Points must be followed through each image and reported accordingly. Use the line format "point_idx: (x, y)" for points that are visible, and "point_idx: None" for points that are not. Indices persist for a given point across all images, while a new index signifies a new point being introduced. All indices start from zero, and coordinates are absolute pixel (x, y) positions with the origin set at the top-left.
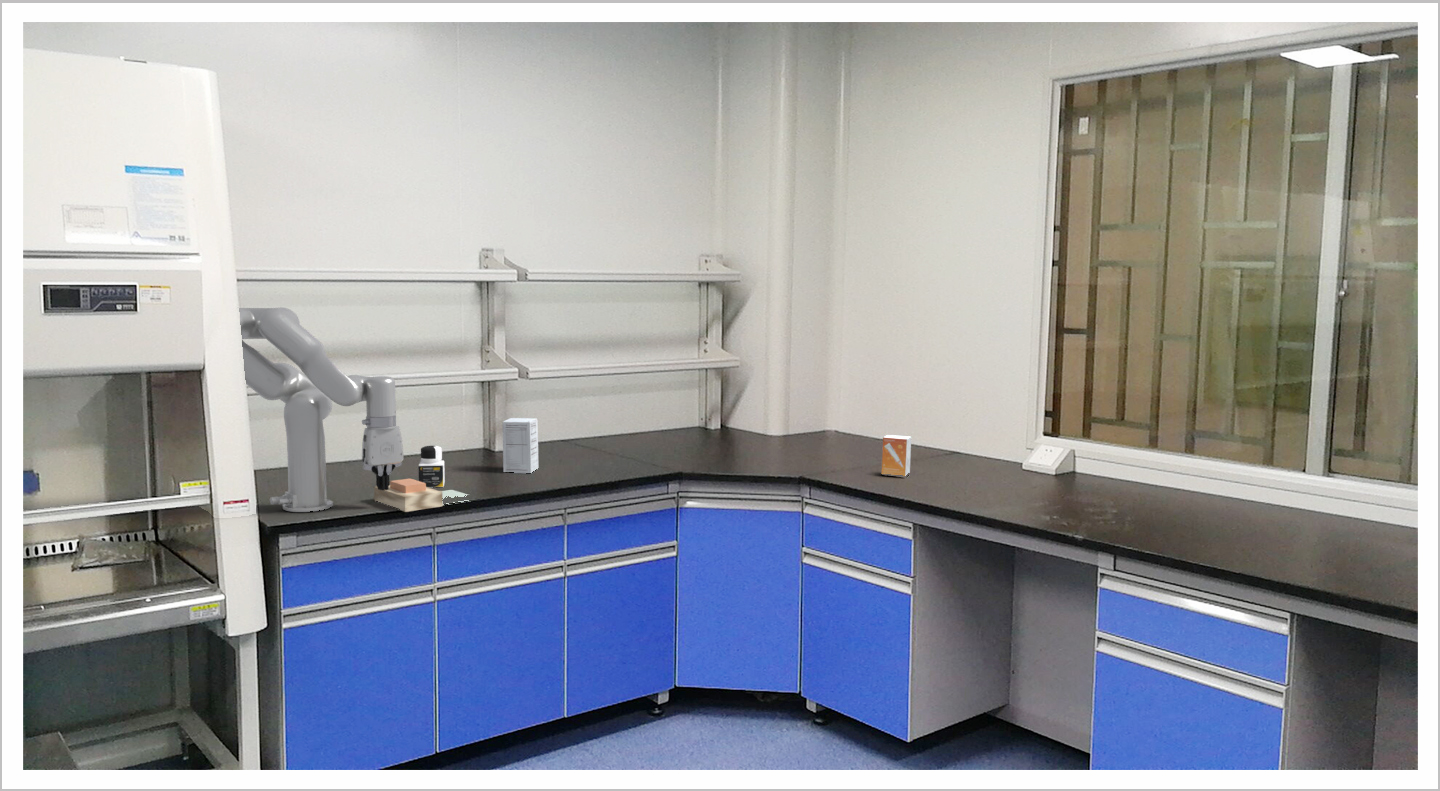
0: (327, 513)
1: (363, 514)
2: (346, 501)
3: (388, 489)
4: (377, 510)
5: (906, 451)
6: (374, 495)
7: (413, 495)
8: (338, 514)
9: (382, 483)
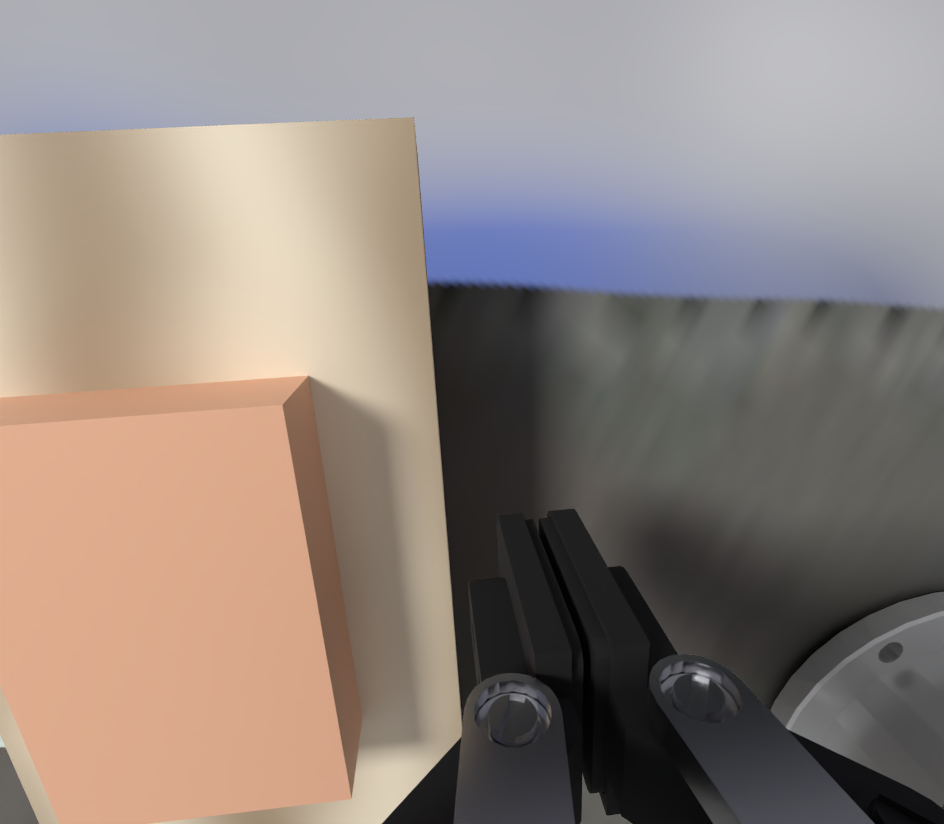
0: (933, 502)
1: (769, 303)
2: None
3: (405, 668)
4: (599, 387)
5: None
6: None
7: (263, 155)
8: (903, 424)
9: (601, 565)
